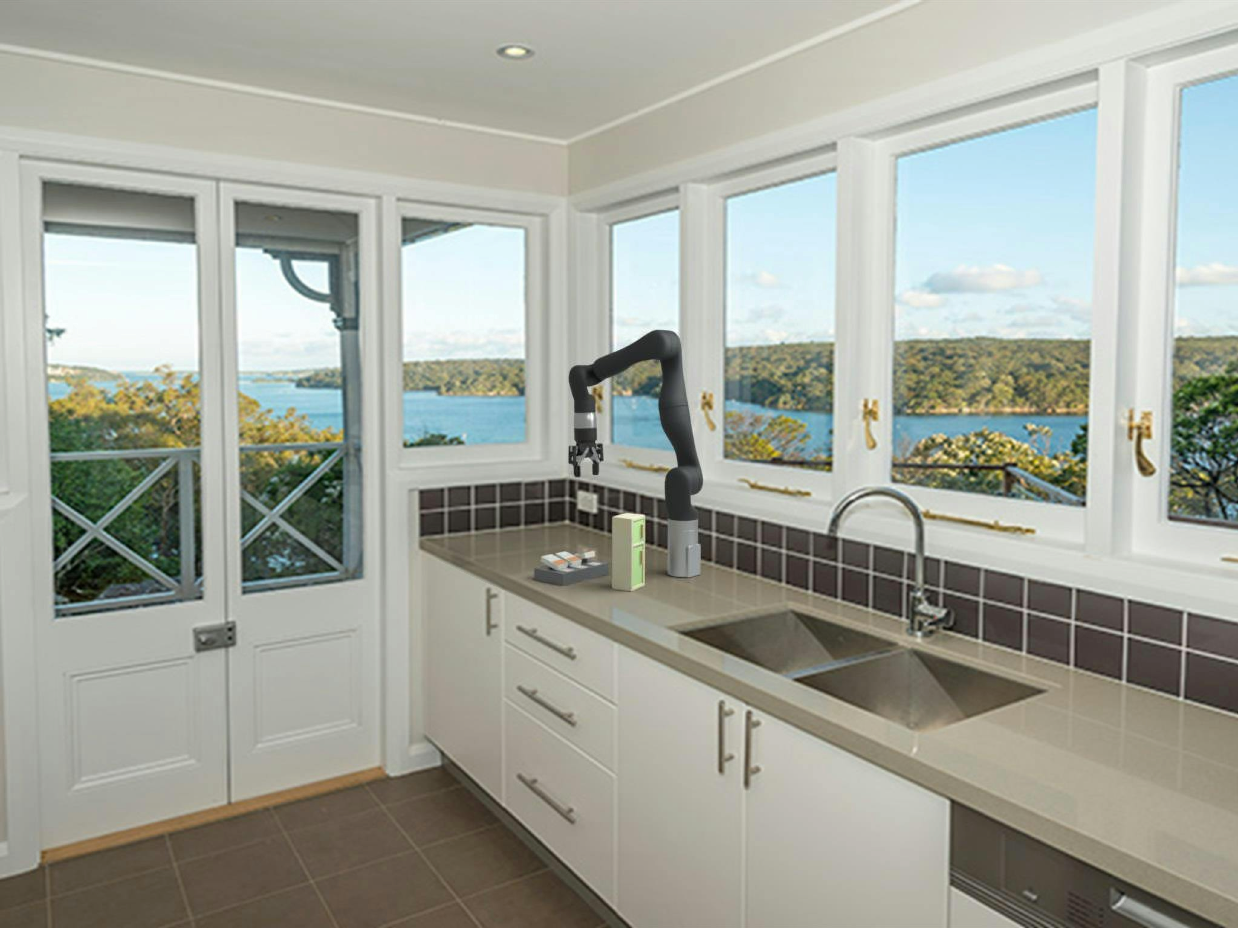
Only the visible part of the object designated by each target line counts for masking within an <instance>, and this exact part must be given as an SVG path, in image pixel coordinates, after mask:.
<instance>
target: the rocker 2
mask: <svg viewBox="0 0 1238 928" xmlns="http://www.w3.org/2000/svg"><path fill="white" fill-rule="evenodd" d="M573 555H574V556H575V557H577V558H579V559H585V558H588V559H589V558H593V557H596V554H595V550H590V551H583V552H580V553H574V554H573Z"/></svg>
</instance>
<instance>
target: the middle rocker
mask: <svg viewBox="0 0 1238 928" xmlns="http://www.w3.org/2000/svg"><path fill="white" fill-rule="evenodd" d="M554 556H556V557H558V558H560V559H561V560H563V561H565V562H567V563H568V566H570V567H574V566H578V565H581V562H582V560H581V559H579V558H577V557H575V556H574V554H572V553H570V552H568V551H561V552H560V551H559V552H556V553H555V555H554Z"/></svg>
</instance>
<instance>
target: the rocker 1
mask: <svg viewBox="0 0 1238 928" xmlns="http://www.w3.org/2000/svg"><path fill="white" fill-rule="evenodd" d="M540 562H541V563H543V564H545V566H546V565H548V566H550V567H551V568H553V569H555V570H561V569H565V568H567V566H568V563H567V562H565V561H563V560H561V559H560V558H558V557H556V556H555V555H554V554H552V553H550V554H546V555H542V556H541V557H540Z"/></svg>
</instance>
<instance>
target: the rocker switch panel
mask: <svg viewBox="0 0 1238 928" xmlns="http://www.w3.org/2000/svg"><path fill="white" fill-rule="evenodd" d="M581 560H582V562H581V565H578V566H574V567H570V566H567V568H565V569H561V570H555V569H553V568H551V567H550V566H548V565H546V564H545V565H543V566H542V565H541V566H537V567H535V568H533V576H534V577H533V580H535V581H539V582H542V583H547V584H552V585H557V586H563V587H564V586H568V585H571V584H572V585H573V584H575V583H580V582H583V581H587V580H591V579H595V578H600V577H603V576H604V577H605V576H608V575H610V573H609V570H610V565H609V562H604V561H599V560H593V559H589V558H585V559H581Z"/></svg>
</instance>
